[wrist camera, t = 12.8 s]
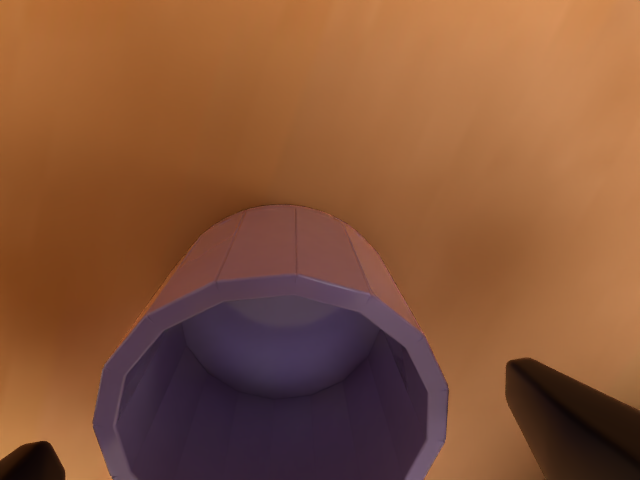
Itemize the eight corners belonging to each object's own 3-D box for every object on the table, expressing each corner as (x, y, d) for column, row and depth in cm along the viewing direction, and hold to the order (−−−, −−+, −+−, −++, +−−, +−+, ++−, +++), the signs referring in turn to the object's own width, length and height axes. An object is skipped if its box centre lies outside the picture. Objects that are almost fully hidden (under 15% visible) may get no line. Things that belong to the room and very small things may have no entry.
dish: (433, 295, 11) (516, 408, 7) (296, 426, 13) (298, 587, 8) (265, 154, 10) (244, 193, 5) (127, 323, 11) (24, 460, 7)
